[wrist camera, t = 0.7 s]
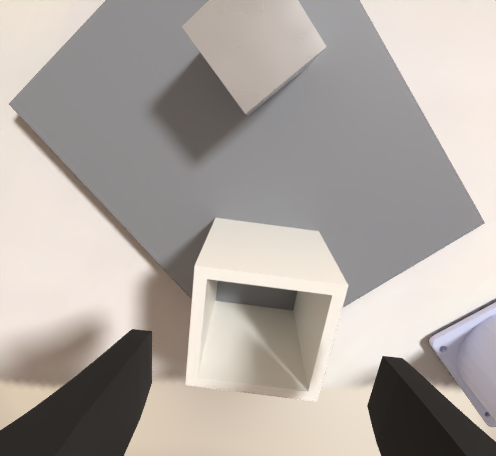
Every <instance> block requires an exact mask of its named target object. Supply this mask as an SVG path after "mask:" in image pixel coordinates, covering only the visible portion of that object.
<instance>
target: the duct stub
mask: <svg viewBox="0 0 496 456" xmlns="http://www.w3.org/2000/svg"><path fill="white" fill-rule="evenodd" d="M182 28H183V29H184V31H185V32H186V33H187V35H188V36H189V37H190V39H191V40H192V42H193V43H194V44H195V46H196V47H197V48H198V50H199V51H200V53H201V54H202V55H203V57H204V58H205V59H206V61H207V62H208V64H209V65H210V66H211V68H212V69H213V70H214V72H215V73H216V75H217V76H218V77H219V79H220V80H221V81H222V83H223V84H224V86H225V87H226V88H227V90H228V91H229V92H230V94H231V95H232V96H233V98H234V99H235V101H236V102H237V103H238V105H239V106H240V107H241V109H242V110H243V112H244V113H245V114H246V115H250V114H251V113H252V112H253V111H255V110H256V109H257V108H258V107H259V106H261V105H262V104H263V103H264V102H265V101H267V100H268V99H269V98H270V97H272V96H273V95H274V94H275V93H276V92H278V91H279V90H280V89H281V88H282V87H284V86H285V85H286V84H287V83H289V82H290V81H291V80H292V79H293V78H295V77H296V76H297V75H298V74H299V73H301V72H302V71H303V70H304V69H306V68H307V67H308V66H309V65H310V64H311V63H312V62H313V61H314V60H315V59H316V58H317V57H318V55H319V54H320V53H321V52H322V51H323V50H324V49H325V48H326V47H327V46H326V45H325V43H324V42H323V40H322V38H321V37H320V35H319V33H318V32H317V30H316V29H315V27H314V25H313V24H312V22H311V20H310V19H309V17H308V16H307V14H306V12H305V11H304V9H303V7H302V6H301V4H300V3H299V1H298V0H209V1H208V2H207V3H206V4H204V5H203V6H202V7H201V8H200V9H199V10H198V11H197V12H196V13H195V14H194V15H193V16H192V17H191V18H190V19H189V20H188V21H187V22H186V23H185V24H184V25H183V26H182Z"/></svg>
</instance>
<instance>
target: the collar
mask: <svg viewBox="0 0 496 456" xmlns="http://www.w3.org/2000/svg"><path fill="white" fill-rule="evenodd" d="M218 281H226V282H234V283H241V284H249V285H257V286H265V287H272V288H280V289H288V290H296V291H297V295H296V300H295V305H294V310H293V311H292V310H284V309H276V308H269V307H261V306H253V305H245V304H237V303H230V302H222V301H216V293H217V284H218ZM347 289H348V284H347V282H346V280H345V278H344V276H343V274H342V273H341V271H340V269H339V267H338V265H337V263H336V262H335V260H334V258H333V256H332V254H331V252H330V251H329V249H328V247H327V245H326V243H325V242H324V240H323V238H322V236H321V234H320V232H319V231H314V230H306V229H298V228H291V227H283V226H275V225H268V224H260V223H253V222H245V221H237V220H230V219H222V218H215V220H214V222H213V225H212V227H211V229H210V231H209V234H208V236H207V238H206V241H205V243H204V245H203V247H202V250H201V252H200V254H199V257H198V259H197V261H196V264H195V267H194V280H193V293H192V306H191V318H190V331H189V344H188V357H187V369H186V382H185V385H188V386H196V387H204V388H212V389H220V390H228V391H236V392H244V393H252V394H260V395H268V396H277V397H284V398H293V399H300V400H308V401H318V397H319V394H320V390H321V386H322V383H323V379H324V375H325V371H326V368H327V364H328V360H329V356H330V353H331V349H332V345H333V341H334V338H335V334H336V330H337V326H338V323H339V319H340V315H341V312H342V308H343V304H344V300H345V297H346V293H347Z"/></svg>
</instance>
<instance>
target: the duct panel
mask: <svg viewBox="0 0 496 456" xmlns="http://www.w3.org/2000/svg"><path fill="white" fill-rule="evenodd" d="M208 1H209V0H106V1H105V2H104V3H103V4H102V5H101V6H100V7H99V8H98V9H97V10H96V11H95V13H94V14H93V15H92V16H91V17H90V18H89V19H88V20H87V21H86V22H85V23H84V24H83V25H82V26H81V27H80V29H79V30H78V31H77V32H76V33H75V34H74V35H73V36H72V37H71V38H70V39H69V40H68V41H67V42H66V43H65V45H64V46H63V47H62V48H61V49H60V50H59V51H58V52H57V53H56V54H55V55H54V56H53V57H52V58H51V59H50V61H49V62H48V63H47V64H46V65H45V66H44V67H43V68H42V69H41V70H40V71H39V72H38V73H37V74H36V75H35V77H34V78H33V79H32V80H31V81H30V82H29V83H28V84H27V85H26V86H25V87H24V88H23V89H22V90H21V91H20V93H19V94H18V95H17V96H16V97H15V98H14V99H13V100H12V101H11V102H10V103H9V105H10V106H11V107H12V108H13V109H14V110H15V111H16V112H17V114H18V115H19V116H20V117H21V118H22V119H23V120H24V121H25V122H26V123H27V124H28V125H29V126H30V127H31V128H32V129H33V131H34V132H35V133H36V134H37V135H38V136H39V137H40V138H41V139H42V140H43V141H44V142H45V143H46V144H47V145H48V147H49V148H50V149H51V150H52V151H53V152H54V153H55V154H56V155H57V156H58V157H59V158H60V159H61V160H62V161H63V163H64V164H65V165H66V166H67V167H68V168H69V169H70V170H71V171H72V172H73V173H74V174H75V175H76V176H77V177H78V178H79V180H80V181H81V182H82V183H83V184H84V185H85V186H86V187H87V188H88V189H89V190H90V191H91V192H92V193H93V194H94V196H95V197H96V198H97V199H98V200H99V201H100V202H101V203H102V204H103V205H104V206H105V207H106V208H107V209H108V210H109V211H110V213H111V214H112V215H113V216H114V217H115V218H116V219H117V220H118V221H119V222H120V223H121V224H122V225H123V226H124V227H125V229H126V230H127V231H128V232H129V233H130V234H131V235H132V236H133V237H134V238H135V239H136V240H137V241H138V242H139V243H140V244H141V246H142V247H143V248H144V249H145V250H146V251H147V252H148V253H149V254H150V255H151V256H152V257H153V258H154V259H155V260H156V262H157V263H158V264H159V265H160V266H161V267H162V268H163V269H164V270H165V271H166V272H167V273H168V274H169V275H170V276H171V278H172V279H173V280H174V281H175V282H176V283H177V284H178V285H179V286H180V287H181V288H182V289H183V290H184V291H185V292H186V293H187V295H188V296H189V297H190V298H191V299H192V293H193V280H194V267H195V264H196V261H197V259H198V257H199V254H200V252H201V250H202V247H203V245H204V243H205V241H206V238H207V236H208V234H209V231H210V229H211V227H212V225H213V222H214V220H215V218H222V219H230V220H237V221H245V222H253V223H260V224H268V225H275V226H283V227H291V228H298V229H306V230H314V231H319V232H320V234H321V236H322V238H323V240H324V242H325V243H326V245H327V247H328V249H329V251H330V252H331V254H332V256H333V258H334V260H335V262H336V263H337V265H338V267H339V269H340V271H341V273H342V274H343V276H344V278H345V280H346V282H347V284H348V289H347V293H346V297H345V300H344V304H343V307H345V306H346V305H348V304H350V303H351V302H353V301H355V300H356V299H358V298H360V297H362V296H363V295H365V294H367V293H368V292H370V291H372V290H373V289H375V288H377V287H378V286H380V285H382V284H383V283H385V282H387V281H388V280H390V279H392V278H393V277H395V276H397V275H398V274H400V273H402V272H403V271H405V270H407V269H409V268H410V267H412V266H414V265H415V264H417V263H419V262H420V261H422V260H424V259H425V258H427V257H429V256H430V255H432V254H434V253H435V252H437V251H439V250H440V249H442V248H444V247H445V246H447V245H449V244H450V243H452V242H454V241H456V240H457V239H459V238H461V237H462V236H464V235H466V234H467V233H469V232H471V231H472V230H474V229H476V228H477V227H479V226H481V225H482V224H484V223H485V222H484V221H483V219H482V217H481V215H480V214H479V212H478V210H477V208H476V206H475V205H474V203H473V201H472V199H471V198H470V196H469V194H468V192H467V190H466V189H465V187H464V185H463V183H462V182H461V180H460V178H459V176H458V174H457V173H456V171H455V169H454V167H453V166H452V164H451V162H450V160H449V159H448V157H447V155H446V153H445V151H444V150H443V148H442V146H441V144H440V143H439V141H438V139H437V137H436V135H435V134H434V132H433V130H432V128H431V127H430V125H429V123H428V121H427V119H426V118H425V116H424V114H423V112H422V111H421V109H420V107H419V105H418V103H417V102H416V100H415V98H414V96H413V95H412V93H411V91H410V89H409V87H408V86H407V84H406V82H405V80H404V79H403V77H402V75H401V73H400V71H399V70H398V68H397V66H396V64H395V63H394V61H393V59H392V57H391V55H390V54H389V52H388V50H387V48H386V47H385V45H384V43H383V41H382V39H381V38H380V36H379V34H378V32H377V31H376V29H375V27H374V25H373V24H372V22H371V20H370V18H369V16H368V15H367V13H366V11H365V9H364V8H363V6H362V4H361V2H360V0H298V1H299V3H300V4H301V6H302V7H303V9H304V11H305V12H306V14H307V16H308V17H309V19H310V20H311V22H312V24H313V25H314V27H315V29H316V30H317V32H318V33H319V35H320V37H321V38H322V40H323V42H324V43H325V45H326V46H327V47H326V48H325V49H324V50H323V51H322V52H321V53H320V54H319V55H318V57H317V58H316V59H315V60H314V61H313V62H312V63H311V64H310V65H309V66H308V67H307V68H306V69H304V70H303V71H302V72H301V73H299V74H298V75H297V76H296V77H295V78H293V79H292V80H291V81H290V82H289V83H287V84H286V85H285V86H284V87H282V88H281V89H280V90H279V91H278V92H276V93H275V94H274V95H273V96H272V97H270V98H269V99H268V100H267V101H265V102H264V103H263V104H262V105H261V106H259V107H258V108H257V109H256V110H255V111H253V112H252V113H251V114H250V115H246V114H245V113H244V112H243V110H242V109H241V107H240V106H239V105H238V103H237V102H236V101H235V99H234V98H233V96H232V95H231V94H230V92H229V91H228V90H227V88H226V87H225V86H224V84H223V83H222V81H221V80H220V79H219V77H218V76H217V75H216V73H215V72H214V70H213V69H212V68H211V66H210V65H209V64H208V62H207V61H206V59H205V58H204V57H203V55H202V54H201V53H200V51H199V50H198V48H197V47H196V46H195V44H194V43H193V42H192V40H191V39H190V37H189V36H188V35H187V33H186V32H185V31H184V29H183V28H182V26H183V25H184V24H185V23H186V22H187V21H188V20H189V19H190V18H191V17H192V16H193V15H194V14H195V13H196V12H197V11H198V10H199V9H200V8H201V7H202V6H203V5H204V4H206V3H207V2H208ZM296 295H297V291H296V290H288V289H280V288H272V287H265V286H257V285H249V284H241V283H234V282H226V281H218V284H217V293H216V301H222V302H230V303H237V304H245V305H253V306H261V307H269V308H276V309H284V310H292V311H293V310H294V305H295V300H296Z"/></svg>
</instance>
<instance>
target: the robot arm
mask: <svg viewBox="0 0 496 456" xmlns="http://www.w3.org/2000/svg"><path fill="white" fill-rule="evenodd" d="M429 343H430V345H431V346H432V348H433V349H434V351H435V352H436V353H437V355H438V356H439V358H440V359H441V360H442V362H443V363H444V365H445V366H446V368H447V369H448V370H449V372H450V373H451V375H452V376H453V377H454V379H455V380H456V382H457V383H458V384H459V386H460V387H461V389H462V390H463V392H464V393H465V394H466V396H467V397H468V399H469V400H470V401H471V403H472V404H473V406H474V407H475V408H476V410H477V411H478V413H479V414H480V416H481V417H482V418H483V420H484V421H485V422H486V424H487V425H488V426H490V427H496V302H495V303H493V304H491V305H490V306H488V307H486V308H484V309H482V310H480V311H478V312H476V313H474V314H473V315H471V316H469V317H467V318H465V319H463V320H461V321H459V322H458V323H456V324H454V325H452V326H450V327H448V328H446V329H444V330H443V331H441V332H439V333H437V334H435V335H433V336H432V337H431V338H430V339H429ZM441 346H443V347H442V348H440V347H441ZM151 384H152V331H144V330H135V329H132V330H131V331H129V332H128V333H127V334H126V335H124V336H123V337H122V338H121V339H120V340H119V341H117V342H116V343H115V344H114V345H113V346H112V347H110V348H109V349H108V350H107V351H106V352H105V353H103V354H102V355H101V356H100V357H99V358H97V359H96V360H95V361H94V362H93V363H91V364H90V365H89V366H88V367H86V368H85V369H84V370H83V371H82V372H80V373H79V374H78V375H77V376H75V377H74V378H73V379H72V380H70V381H69V382H68V383H66V384H65V385H64V386H62V387H61V388H60V389H58V390H57V391H56V392H54V393H53V394H52V395H50V396H49V397H48V398H47V399H45V400H44V401H42V402H41V403H40V404H38V405H37V406H36V407H34V408H33V409H31V410H30V411H28V412H27V413H26V414H24V415H23V416H22V417H20V418H18V419H17V420H15V421H14V422H13V423H11V424H9V425H8V426H6V427H5V428H3V429H2V430H0V456H124V454H125V452H126V449H127V447H128V445H129V442H130V440H131V438H132V436H133V433H134V431H135V429H136V427H137V424H138V422H139V420H140V417H141V414H142V411H143V409H144V406H145V403H146V400H147V396H148V393H149V390H150V387H151ZM368 410H369V415H370V419H371V423H372V427H373V431H374V434H375V438H376V442H377V445H378V447H379V450H380V453H381V456H496V442H495V441H494V440H493V439H491V438H490V437H489V436H488V435H487V434H486V433H485V432H484V431H482V430H481V429H480V428H479V427H478V426H476V425H475V424H474V423H473V422H472V421H471V420H470V419H469V418H468V417H467V416H465V415H464V414H463V413H462V412H461V411H460V410H459V409H457V408H456V407H455V406H454V405H453V404H452V403H451V402H450V401H449V400H448V399H447V398H446V397H445V396H443V395H442V394H441V393H440V392H439V391H438V390H437V389H436V388H435V387H434V386H433V385H432V384H430V383H429V382H428V381H427V380H426V379H425V378H424V377H423V376H422V375H421V374H420V373H419V372H417V371H416V370H415V369H414V368H413V367H412V366H411V365H410V364H408V363H407V362H406V361H405V360H404V359H403V358H395V357H386V356H383V357H382V360H381V363H380V366H379V370H378V373H377V376H376V379H375V383H374V386H373V389H372V393H371V396H370V399H369V403H368Z"/></svg>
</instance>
